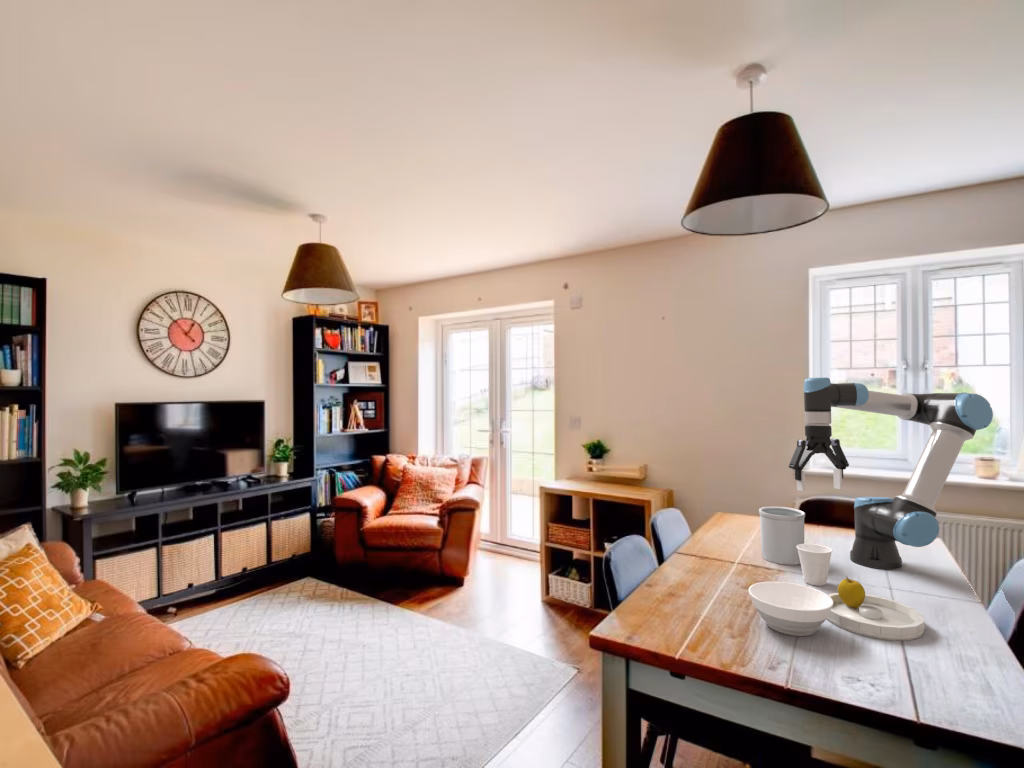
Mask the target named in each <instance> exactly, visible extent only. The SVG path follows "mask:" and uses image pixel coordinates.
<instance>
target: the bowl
mask: <svg viewBox="0 0 1024 768" xmlns="http://www.w3.org/2000/svg"><path fill="white" fill-rule="evenodd" d="M748 593H749V597H750V599H751V601H752V604H753V605H754V607H755V610H756V611H757V613H759V615H760V617H761V619H762V620H763V621H764V622H765V623H766V625H767V626H768V627H769V628H770V629H772V630H774V631H775V632H778V633H781V634H784V635H790V636H794V637H795V636H796V637H809V636H811V635H813V634H815V632H816V631H817V630H819V628H821V626H822V625H823V623H825V621H827V620H826V619H827V617H828V616H829V613H830V611H831V608H832V606H833V600H832V599H831V598H830V597H829V596H828V594H827V593H825V592H823V591H820V590H818V589H816V588H814V587H810V586H807V585H803V584H799V583H792V582H786V581H785V582H784V581H762V582H761V581H760V582H756V583H753V584H752V585H750V586H749V587H748Z"/></svg>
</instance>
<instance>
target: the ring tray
mask: <svg viewBox="0 0 1024 768" xmlns="http://www.w3.org/2000/svg"><path fill="white" fill-rule="evenodd" d="M827 595H828V596H829V597H830V598H831V599H832V600H833V606H832V608H831V611H830V613H829V616H828V617H827V619H826V620H825V621H828V622H829V623H830V624H832V625H834V626H836V627H838V628H840V629H843V630H845V631H848V632H851V633H853V634H856V635H861V636H864V637H868V638H873V639H878V640H886V641H901V642H902V641H904V642H905V641H913V640H917V639H920V638H922V637H923V636H924V635H925V629H926V628H925V618H924V617H925V616H924V615H923V614H922V613H921V612H919V611H917V610H916V608H914V607H912V606H909V605H906V604H904V603H902V602H900V601H897V600H895V599H890V598H886V597H883V596H880V595H879V596H878V595H872V594H867V593H865V599H864V601H863V603H862V605H861V606H859V607H858V608H853V607H850V606H847V605H846V604H845V603H843V601H842V600H841V598H840V596H839V594H838V592H833V593H828V594H827Z"/></svg>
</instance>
